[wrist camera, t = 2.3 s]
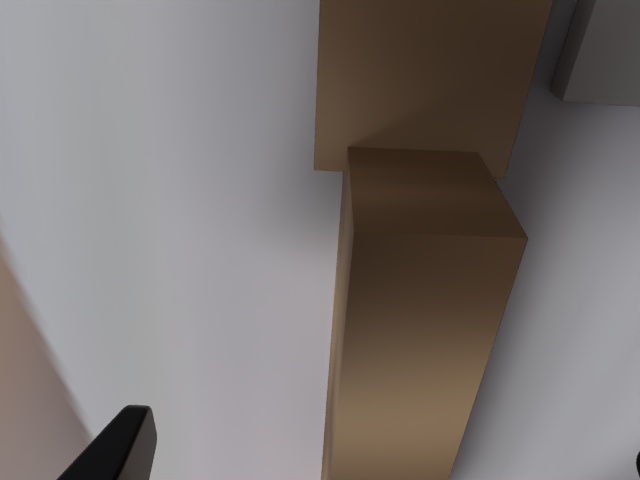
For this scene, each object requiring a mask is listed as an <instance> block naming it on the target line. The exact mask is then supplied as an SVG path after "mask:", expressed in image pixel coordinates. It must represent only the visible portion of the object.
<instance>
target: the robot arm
mask: <svg viewBox="0 0 640 480" xmlns="http://www.w3.org/2000/svg"><path fill="white" fill-rule="evenodd" d="M156 443H157V432H156V427H155V423H154V418H153V413H152V409H151V408H150V407H149V406H145V405H128V406H126V407H124V408H123V409H122V410H121V411H120V412H119V413H118V414H117V416H116V417H115V418H114V419H113V420H112V421H111V422H110V423H109V424H108V425H107V426H106V427H105V428H104V429H103V430H102V432H101V433H100V434H99V435H98V436H97V437H96V438H95V439H94V440H93V441H92V442H91V443H90V444H89V445H88V447H87V448H86V449H85V450H84V451H83V452H82V453H81V454H80V455H79V456H78V457H77V458H76V460H74V461H73V463H72V464H71V465H70V466H69V467H68V468H67V469H66V470H65V471H64V472H63V473H62V474H61V476H60V477H59V478H58V479H57V480H149V477H150V473H151V468H152V463H153V459H154V454H155V449H156ZM636 465H637V470H638V474H639V477H640V452H639V453H638V455H637V459H636Z"/></svg>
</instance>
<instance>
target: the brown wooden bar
mask: <svg viewBox="0 0 640 480" xmlns="http://www.w3.org/2000/svg"><path fill="white" fill-rule="evenodd" d="M552 3H553V0H320V14H319V42H318V70H317V98H316V125H315V153H314V170H326V171H343V183H342V197H341V211H340V225H339V238H338V252H337V266H336V280H335V293H334V307H333V321H332V335H331V348H330V362H329V376H328V390H327V403H326V417H325V431H324V445H323V458H322V472H321V480H448V479H449V476H450V473H451V470H452V467H453V464H454V461H455V458H456V455H457V452H458V449H459V446H460V443H461V440H462V437H463V434H464V431H465V428H466V425H467V422H468V419H469V416H470V413H471V410H472V407H473V404H474V401H475V398H476V395H477V392H478V389H479V386H480V383H481V380H482V377H483V373H484V370H485V367H486V364H487V361H488V358H489V355H490V352H491V349H492V346H493V343H494V340H495V337H496V334H497V331H498V328H499V325H500V322H501V319H502V316H503V313H504V310H505V307H506V304H507V301H508V298H509V295H510V292H511V289H512V286H513V283H514V280H515V277H516V274H517V271H518V268H519V265H520V261H521V258H522V255H523V252H524V249H525V246H526V243H527V240H528V237H527V236H526V234H525V232H524V230H523V229H522V227H521V225H520V223H519V222H518V220H517V218H516V217H515V215H514V213H513V211H512V210H511V208H510V206H509V204H508V203H507V201H506V199H505V197H504V196H503V194H502V192H501V191H500V189H499V187H498V185H497V184H496V182H495V180H494V178H504V177H505V174H506V170H507V166H508V163H509V159H510V155H511V152H512V148H513V145H514V141H515V137H516V134H517V130H518V126H519V123H520V119H521V115H522V112H523V108H524V105H525V101H526V97H527V94H528V90H529V86H530V83H531V79H532V76H533V72H534V68H535V65H536V61H537V57H538V54H539V50H540V46H541V43H542V39H543V36H544V32H545V28H546V25H547V21H548V17H549V14H550V10H551V7H552Z"/></svg>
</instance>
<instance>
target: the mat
mask: <svg viewBox="0 0 640 480" xmlns="http://www.w3.org/2000/svg"><path fill="white" fill-rule="evenodd" d="M550 91H551V92H552V93H553V94H554V95H555V96H556V97H557V98H559V99H560V100H561V101H562V102H575V103H592V104H608V105H624V106H640V0H578V4H577V7H576V10H575V13H574V16H573V19H572V22H571V26H570V29H569V32H568V35H567V38H566V41H565V44H564V48H563V51H562V54H561V57H560V60H559V63H558V66H557V69H556V73H555V76H554V79H553V82H552V85H551V88H550Z"/></svg>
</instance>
